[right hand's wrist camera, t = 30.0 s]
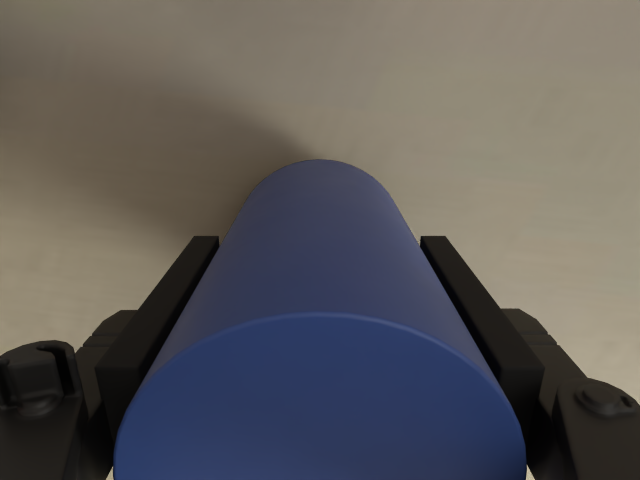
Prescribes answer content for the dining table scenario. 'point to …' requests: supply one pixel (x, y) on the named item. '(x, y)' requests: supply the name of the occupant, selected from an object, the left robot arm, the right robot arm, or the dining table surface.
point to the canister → (319, 354)
